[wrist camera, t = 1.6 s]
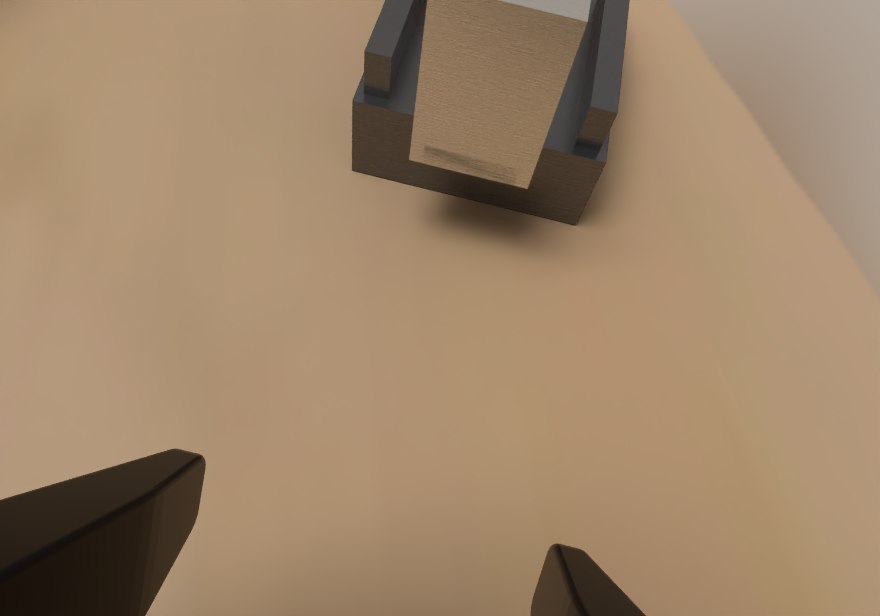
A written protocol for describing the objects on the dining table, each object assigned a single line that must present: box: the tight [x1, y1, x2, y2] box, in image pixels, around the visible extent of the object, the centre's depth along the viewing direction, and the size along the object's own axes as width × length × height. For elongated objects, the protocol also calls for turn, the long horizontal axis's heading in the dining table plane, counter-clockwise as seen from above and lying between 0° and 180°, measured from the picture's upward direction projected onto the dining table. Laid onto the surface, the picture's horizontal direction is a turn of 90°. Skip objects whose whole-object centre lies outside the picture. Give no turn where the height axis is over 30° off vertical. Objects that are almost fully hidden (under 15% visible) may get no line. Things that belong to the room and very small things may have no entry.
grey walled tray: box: [352, 0, 630, 225], centre depth 30 cm, size 13×10×6 cm
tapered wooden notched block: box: [409, 0, 591, 189], centre depth 24 cm, size 10×4×7 cm, turn 168°
